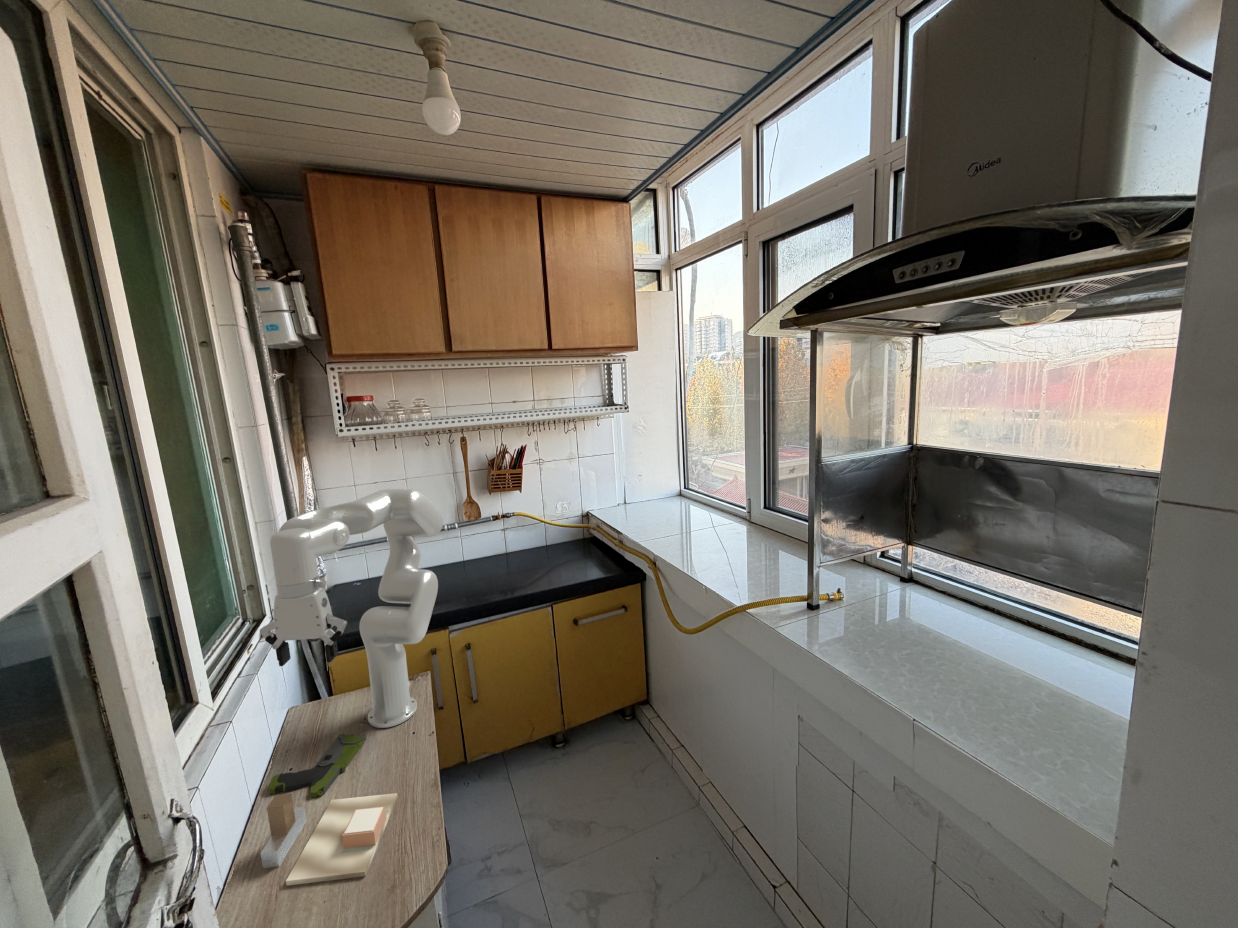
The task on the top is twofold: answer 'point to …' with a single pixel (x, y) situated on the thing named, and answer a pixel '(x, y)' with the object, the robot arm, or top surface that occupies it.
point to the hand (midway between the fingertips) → (308, 660)
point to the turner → (282, 829)
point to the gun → (321, 768)
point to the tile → (364, 827)
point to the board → (338, 843)
